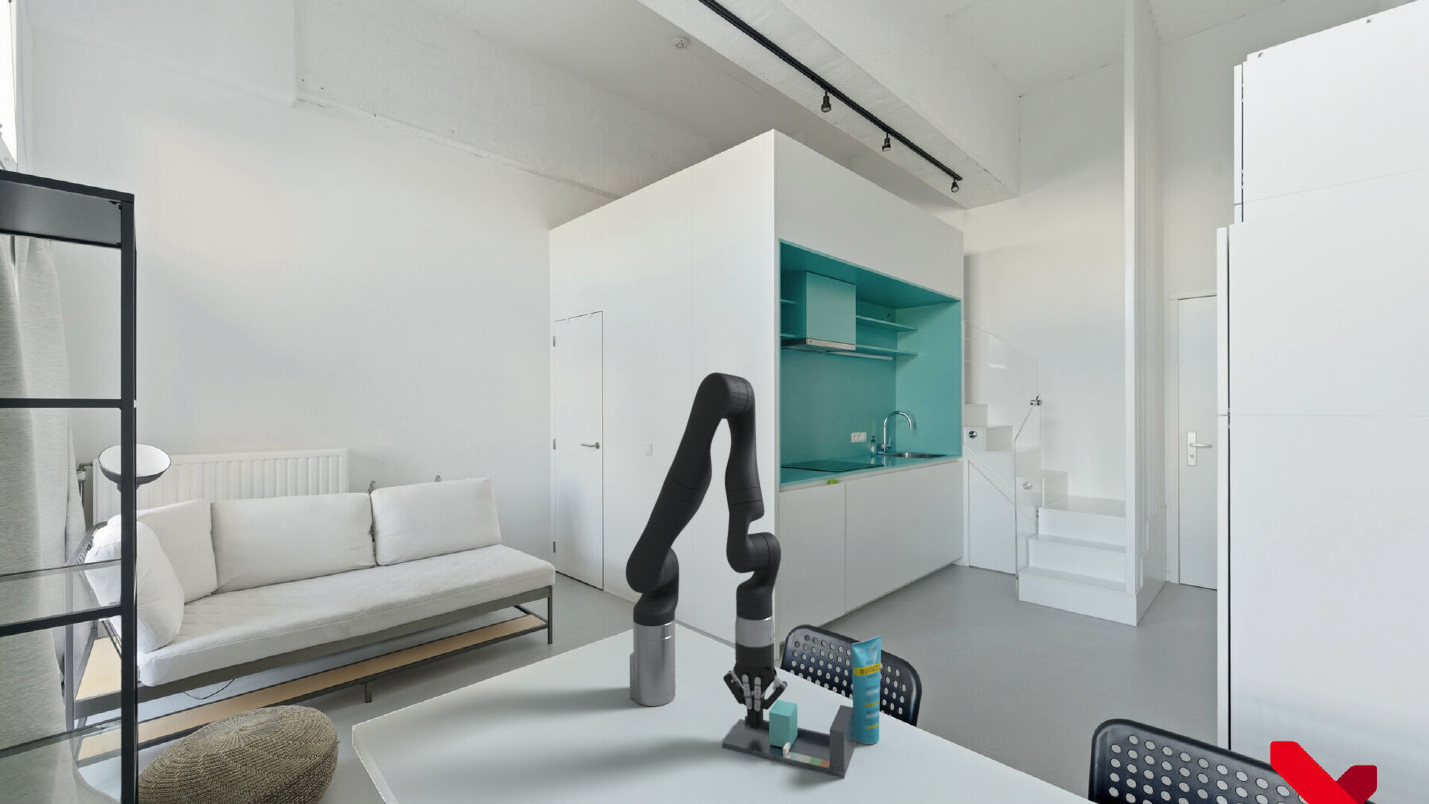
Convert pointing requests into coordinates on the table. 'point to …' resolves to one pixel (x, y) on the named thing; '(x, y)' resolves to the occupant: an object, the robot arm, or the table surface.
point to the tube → (866, 689)
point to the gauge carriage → (783, 724)
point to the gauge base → (801, 744)
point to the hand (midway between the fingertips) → (755, 726)
